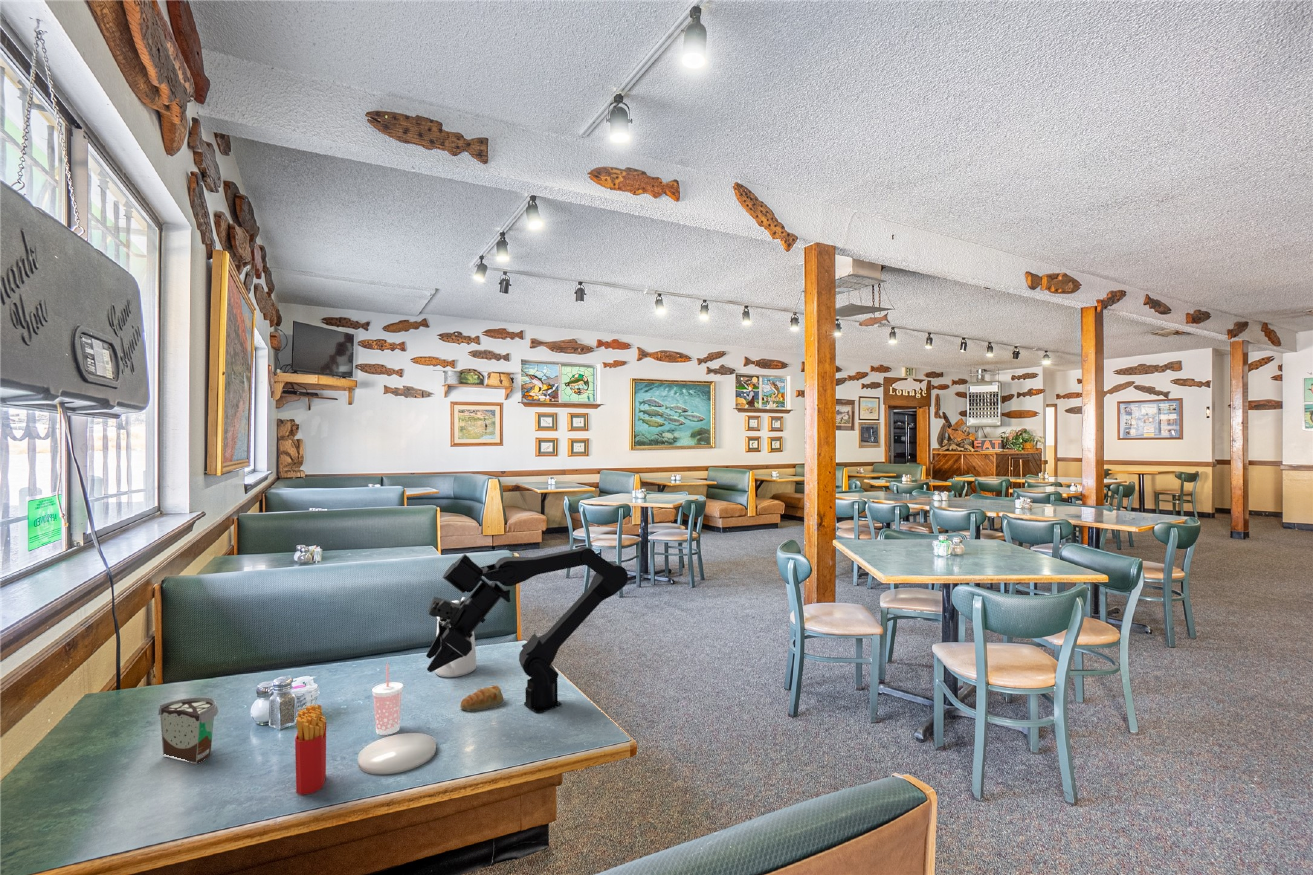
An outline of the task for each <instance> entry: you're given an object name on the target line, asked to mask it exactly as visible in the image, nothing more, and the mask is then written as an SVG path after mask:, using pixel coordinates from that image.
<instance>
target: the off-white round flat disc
mask: <svg viewBox="0 0 1313 875" xmlns="http://www.w3.org/2000/svg"><path fill="white" fill-rule="evenodd" d="M436 752H437V741H436V739H435V738H434V737H433V736H431V735H428V734H425V733H421V732H405V733H398V734H394V735H387V736H386V737H382V738H380V739H378V740H375V741H373V742H371V743H369V744H368V745H366V746H365V747H364V748H362V749H361V750H360V752H359V753H358V756H357V757H358V758H357V765H358V768H359V770H361V771H363V773H367V774H371V775H394V774H399V773H403V772H407V771H410V770H412V769H416V768H418V767H420V766H421V765H423V764H424V765H425V763H428V761H430V760H431V759H432V758H433V757H434V756H435V754H436Z"/></svg>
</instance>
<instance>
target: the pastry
mask: <svg viewBox="0 0 1313 875" xmlns="http://www.w3.org/2000/svg"><path fill="white" fill-rule="evenodd" d="M504 701H505V700H504V696H503V693H502V689H501V688H500V686H498V685H492V686H490V687H483V688H479V689H477V690H476V691H475V692H472V694H469V695H467V696H465V697H464V698H463V699H462V700H461V702H460V709H461V710H464V711H467V712H474V711H473V710H475V711H483V710H487V709H491V707H492V708H496V707H499V706H501V705H503V703H504ZM495 706H496V707H495Z"/></svg>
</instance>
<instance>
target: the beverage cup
mask: <svg viewBox="0 0 1313 875" xmlns="http://www.w3.org/2000/svg"><path fill="white" fill-rule="evenodd" d="M389 669H390V664H389V663H386V672H385V673H386V675H385V676H386V678H385V679H386V682H384V683H380V684H377V685H375V686H374V687H373V688H372V689H371V693H372V696H373V707H374V720H375V733H376V734H377V735H381V736H386V735H387V736H389V735H391V734H394V733H396V732H398V731H400V727H401V726H400V725H401V706H402V692H403V689H404V684H403V683H402V682H398V681H396V682H395V681H394V682H393V681H392V682H391V681H390V671H389Z"/></svg>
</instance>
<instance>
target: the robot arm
mask: <svg viewBox="0 0 1313 875" xmlns="http://www.w3.org/2000/svg"><path fill="white" fill-rule="evenodd" d="M581 566H587V567H588V568H589V569H590V570H592V571H594V572H595V574H594V575H593V576H592V579H591V582H590V584H589V586H588V587H587V589H586V590H585V591H584V592H583V593H582V594H581V595H580V597H578V598H577V600H576V601H574V603H573V604H572V605H571V606H570V607H569V608H568V609H567V610H566V611H565V612H564V613H563V615H562V616H561V617H560V618H559V619H558V620H557V621H556V622H555V623H554V624H553V625H552V627H551V628H550V629H548V631H546V632H545V633H544V634H542V635H540V636H537V634H536V633H533V634H532V635H531V636H530V638H529V639H528V641H527V642H525V643H524V644H522V645H521V647H522V649H521V650H520V652H519V654H518V656H519V657H518V661H519V664H520V666H521V668H522V670H523V672H524V674H525V675H526V676H527V677H529V678H528V679H527V680H526V681H527V682H526V687H525V688H524V689H525V691H524V693H525V701H524V702H523V705H524V706H525V707H527V708H529V709H530V710H531V711H533V712H535V713H537V714H539V713H542V712H546V711H548V710H551V709H555V708H558V707H561V706H562V702H560V701H559V698H558V696H559V695H558V694H559V692H558V691H559V690H558V684H559V683H558V678H559V673H558V670H556V667H554V664H553V662H554V661H555V658H556V655H557V654H558V651H559V650H560V648H561V646H562V645H563V644H564V643H565V642H566V641H567V640H568V639H569V637H570V636H571V635H572V634H574V632H576V630H577V629H578V628H579V627H580V626H581V625H582V623H583V622H584V621H585V620H586V619H587V618H588V617H589V616H590V615H591V613H593V611H595V609H596V608H597V607H598V606H599V605H600V604H601V603H602V602H603V601H605V600H607V599H609V598H611V597H612V596H615V595H616V594H617V593H619V592H620V591H621V590H622V589H623V588H624V587H626V586H627V583H628V581H629V574H628V572H627V570H626V569H625V567H623V566H622V565H620V564H618V563H617V562H614V561H607V559H605V558H603V557H602V556H600V555H599V554H598V553H597V552H596V551H595V550H594V549H592V548H591V547H588V546H586V545H584V546H581V547H578V548H573V549H567V550H563V551H557V552H552V553H547V554H542V555H537V556H504V557H500V558H499V559H497V561H496V562H495V563H490V564H487V565H483V566H479V565H478V564H477V563H475V561H473V560H472V559H471V558H470V557H469V556H468V555H467V554H465V553H463V555H462V556H460V558H458V559H457V560H456V561H455V562H452V564H451V565H449V567H448V568H447V570H446V571H445V572H444V574H443V575H442V579H443V580H444V581H446V582H447V583H448V584H450V585H451V586H452V587H454V588H455V590H458V591H459V592H460V593H461V594H465V592H466V593H471V592H472V593H471V594H469V596H468V597H466V598H465V599H464V600H462V601H461V600H460V601H459V603H458V604H457V603H454V602H451V601H452V600H451V601H450V600H447V599H444V598H441V597H437V596H434V597H433V598H432V600H431V603H430V606H429V608H428V610H427V611H428V615H429V616H431V617H434V618H437V617H440V621H441V622H440V621H439V622H438V624H439V633H438V635H437V636H436V635H435V636H436V637H435V639H434V641H433V642H432V644H431V646H430V648H429V649H428V651H427V653H426V658H428V659H429V660H430V659H432V658H433V659H432V660H431V662H430V663H429V665H428V666H427V669H426V670H427V671H428V672H429V673H432V672H435V670H436V669H438V668H440V667H442V666H444V665H446V664H448V663H450V662H452V661H454V660H456V659H458V658H460V657H461V658H462V657H463V656H467V655H468V654H469V652H470V651H471V650H472V642H471V639H470V638H471V637H472V636H473V634H472V632H473V631H475V630H476V629H477V627H478V626H479V625H480V624H481V623H482V624H484V623H485V621H486V620H487V619H486V617H487V615H488V614H490V612H491V611H492V609H494V608H495V606H496V605H497V604H498V603H499V602H500V600H501V599H503V600H504V601H506V602H507V603H511V590H510V589H511V588H509V587H513V586H516V585H518V584H521V583H523V582H526V581H527V580H530V579H531V578H533V577H535V576H538V575H542V574H548V573H552V572H558V571H561V570H566V569H567V570H568V569H573V568H576V567H581ZM490 582H491V583H490ZM498 583H499V584H498ZM501 585H502V586H504V587H507V588H503V587H502V586H501Z"/></svg>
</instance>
